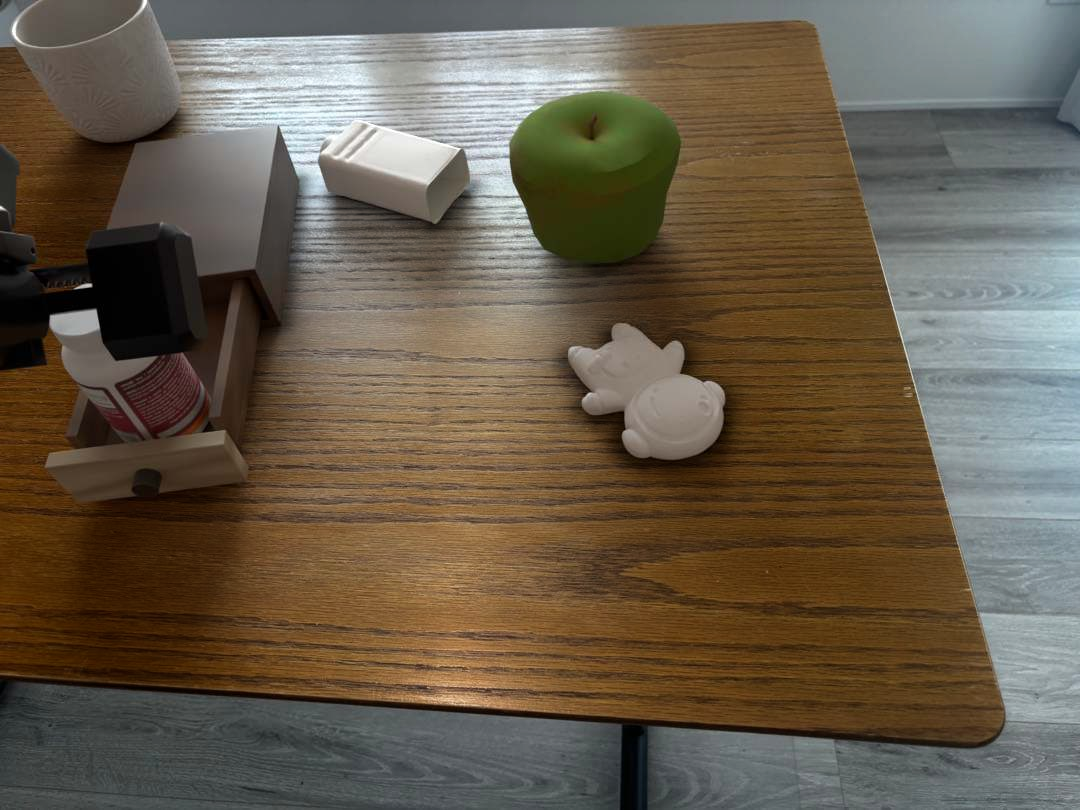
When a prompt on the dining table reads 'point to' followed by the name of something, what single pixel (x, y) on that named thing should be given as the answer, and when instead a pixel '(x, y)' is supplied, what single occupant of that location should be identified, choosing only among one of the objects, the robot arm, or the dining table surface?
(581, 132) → the apple
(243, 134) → the cabinet
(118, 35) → the planter
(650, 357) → the white cartoon figurine
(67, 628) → the dining table surface
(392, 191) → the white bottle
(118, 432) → the pill bottle
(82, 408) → the drawer
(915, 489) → the dining table surface
